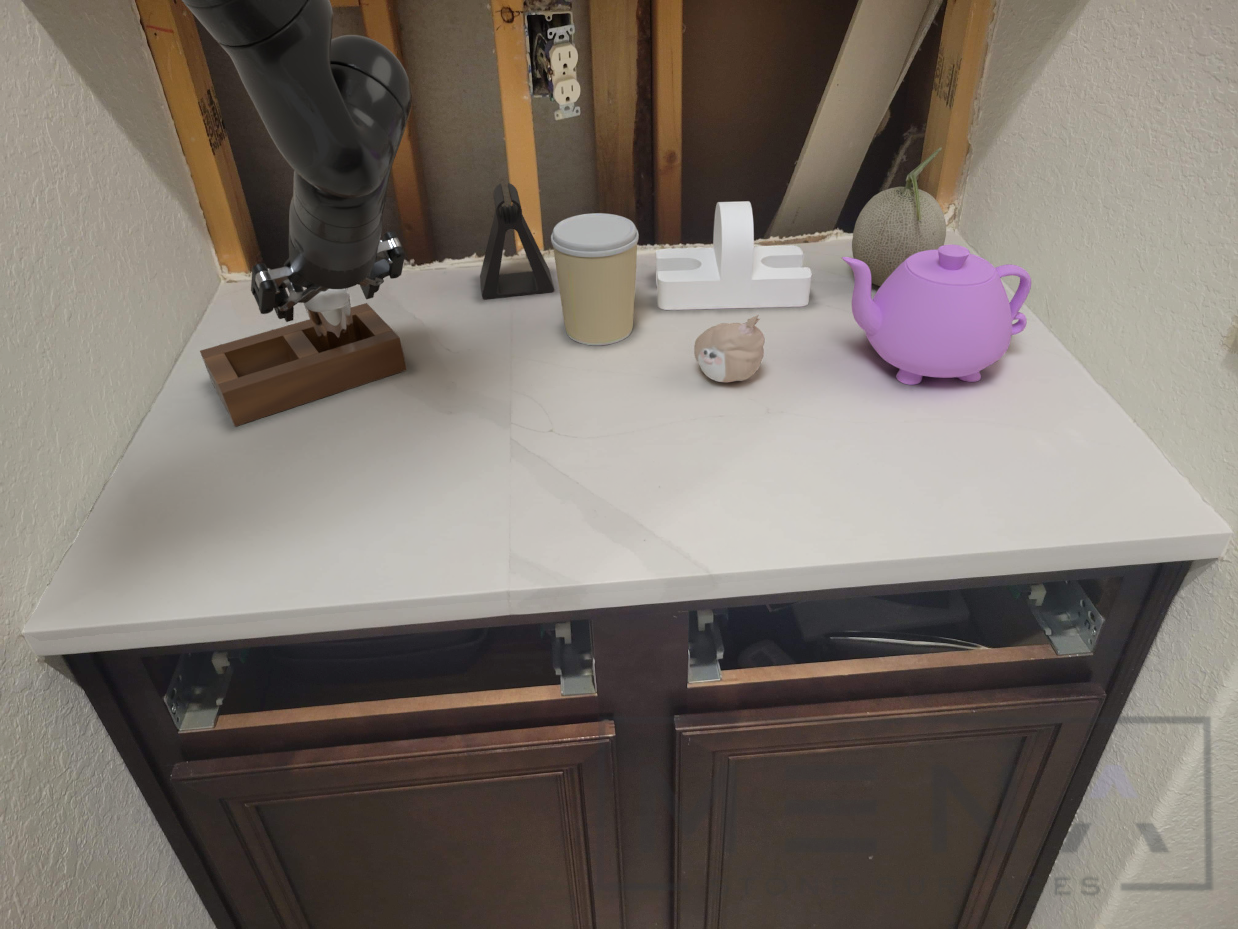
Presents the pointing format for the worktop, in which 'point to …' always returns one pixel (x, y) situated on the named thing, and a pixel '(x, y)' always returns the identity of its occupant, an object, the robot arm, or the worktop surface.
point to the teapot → (940, 313)
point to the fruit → (898, 227)
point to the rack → (299, 365)
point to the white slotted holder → (732, 269)
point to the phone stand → (490, 271)
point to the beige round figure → (730, 350)
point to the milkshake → (332, 318)
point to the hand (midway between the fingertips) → (326, 301)
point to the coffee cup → (596, 276)
